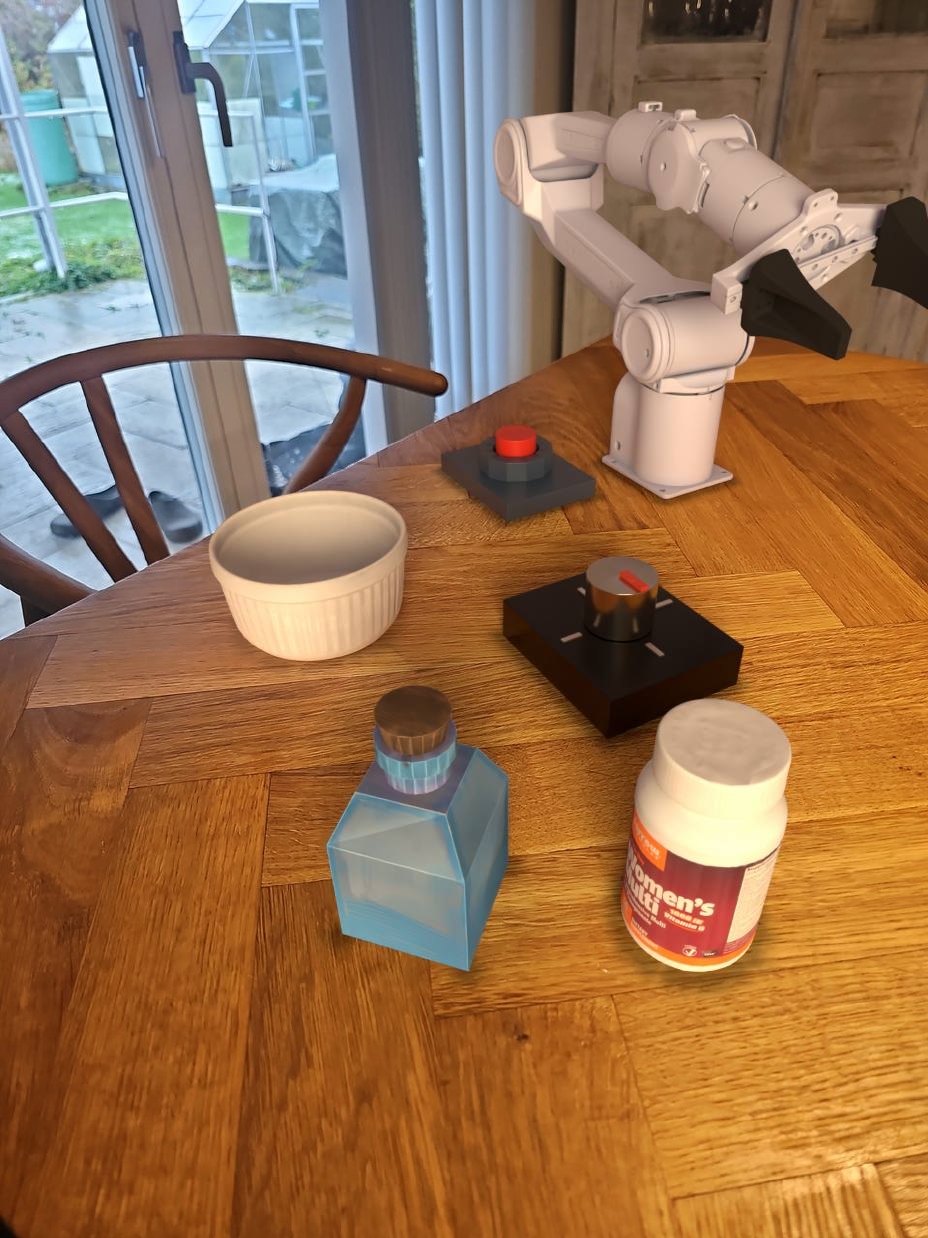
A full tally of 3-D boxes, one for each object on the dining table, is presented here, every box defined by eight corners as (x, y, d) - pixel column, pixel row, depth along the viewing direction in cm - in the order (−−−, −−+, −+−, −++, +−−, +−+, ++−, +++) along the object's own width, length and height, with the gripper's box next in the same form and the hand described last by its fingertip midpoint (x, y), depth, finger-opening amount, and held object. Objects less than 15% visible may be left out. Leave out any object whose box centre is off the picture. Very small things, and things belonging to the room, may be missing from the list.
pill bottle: (594, 925, 39) (612, 748, 33) (660, 843, 43) (688, 670, 37) (717, 1005, 36) (763, 825, 30) (777, 909, 40) (830, 730, 33)
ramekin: (239, 574, 66) (222, 493, 62) (409, 562, 66) (403, 481, 62) (213, 683, 55) (190, 593, 51) (417, 667, 56) (410, 577, 51)
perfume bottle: (508, 863, 42) (509, 677, 35) (468, 971, 38) (460, 781, 31) (394, 834, 44) (373, 651, 37) (342, 933, 39) (307, 745, 32)
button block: (441, 470, 80) (439, 435, 78) (522, 449, 83) (523, 415, 81) (507, 522, 71) (507, 484, 69) (594, 496, 75) (597, 460, 73)
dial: (569, 614, 55) (572, 563, 52) (624, 594, 56) (629, 545, 54) (611, 649, 52) (615, 597, 49) (667, 628, 53) (674, 576, 51)
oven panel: (502, 635, 58) (502, 597, 56) (620, 593, 62) (623, 556, 60) (607, 740, 49) (611, 698, 48) (737, 684, 53) (745, 644, 51)
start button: (488, 448, 76) (487, 430, 75) (522, 439, 77) (522, 421, 76) (508, 463, 73) (509, 444, 72) (543, 453, 75) (544, 435, 74)
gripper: (679, 198, 55) (805, 308, 47) (874, 124, 56) (1027, 219, 49) (673, 293, 61) (785, 405, 53) (850, 224, 62) (984, 323, 54)
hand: (899, 323), depth 51 cm, fingers open, 7 cm apart
